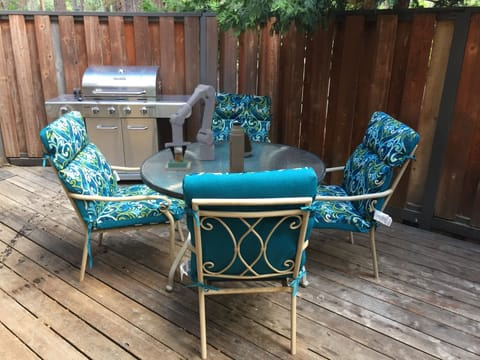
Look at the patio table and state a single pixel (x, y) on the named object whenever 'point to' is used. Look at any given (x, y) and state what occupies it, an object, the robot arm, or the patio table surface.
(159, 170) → the patio table surface
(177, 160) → the cardboard box
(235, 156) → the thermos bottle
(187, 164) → the dock
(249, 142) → the pump dispenser
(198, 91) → the robot arm
